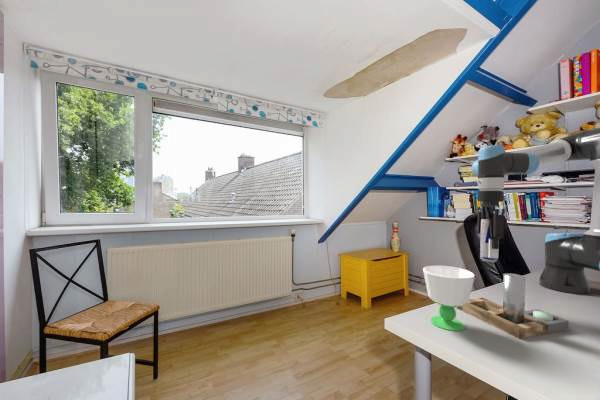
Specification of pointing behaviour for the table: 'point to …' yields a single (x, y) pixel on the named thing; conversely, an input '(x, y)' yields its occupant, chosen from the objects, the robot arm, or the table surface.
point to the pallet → (496, 319)
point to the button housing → (552, 322)
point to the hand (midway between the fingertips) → (488, 256)
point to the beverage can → (485, 241)
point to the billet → (514, 298)
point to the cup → (448, 293)
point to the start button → (543, 315)
